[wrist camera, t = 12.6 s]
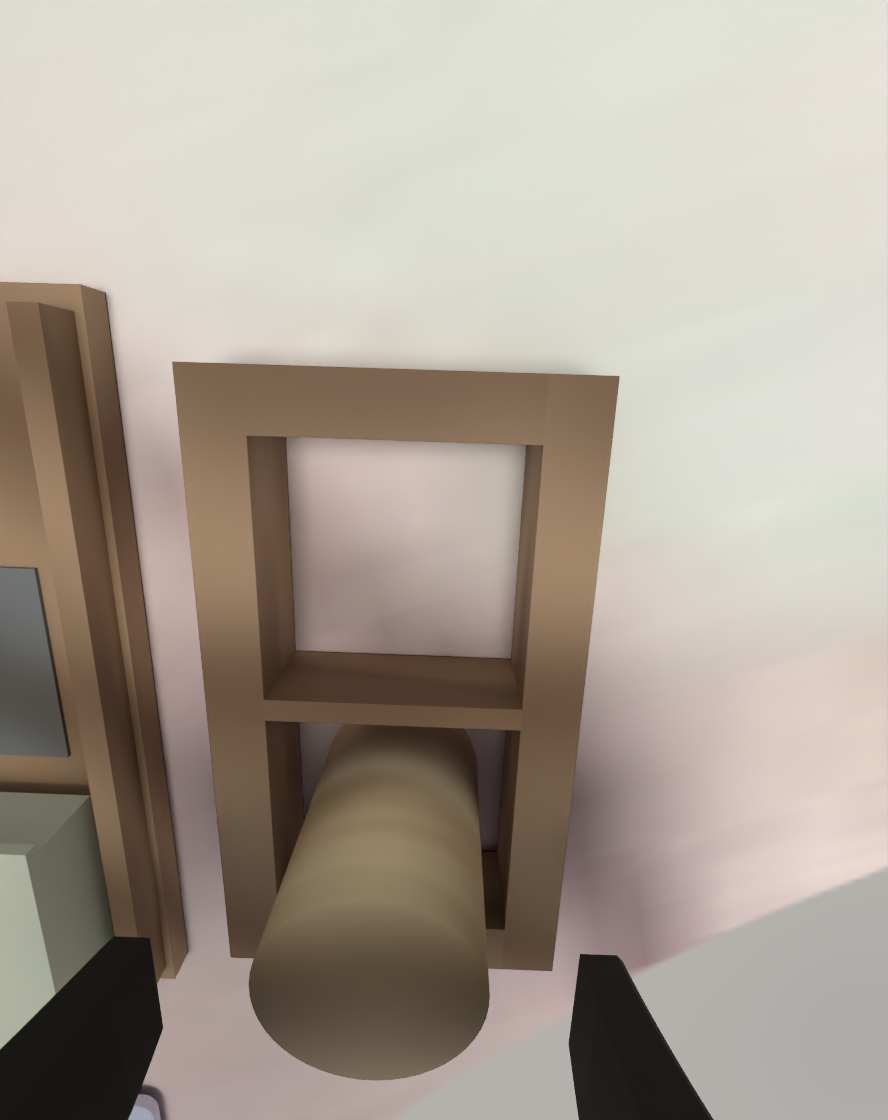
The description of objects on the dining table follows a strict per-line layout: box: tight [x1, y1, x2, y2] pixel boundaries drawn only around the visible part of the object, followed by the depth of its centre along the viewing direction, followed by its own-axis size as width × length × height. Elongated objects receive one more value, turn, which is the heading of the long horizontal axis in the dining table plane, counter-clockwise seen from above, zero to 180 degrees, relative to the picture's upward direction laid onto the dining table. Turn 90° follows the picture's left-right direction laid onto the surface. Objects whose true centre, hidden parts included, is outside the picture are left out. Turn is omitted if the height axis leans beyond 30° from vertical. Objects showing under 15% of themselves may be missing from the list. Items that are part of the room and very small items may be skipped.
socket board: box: [172, 362, 619, 971], centre depth 13 cm, size 14×8×2 cm, turn 178°
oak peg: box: [249, 724, 490, 1080], centre depth 12 cm, size 4×4×6 cm
